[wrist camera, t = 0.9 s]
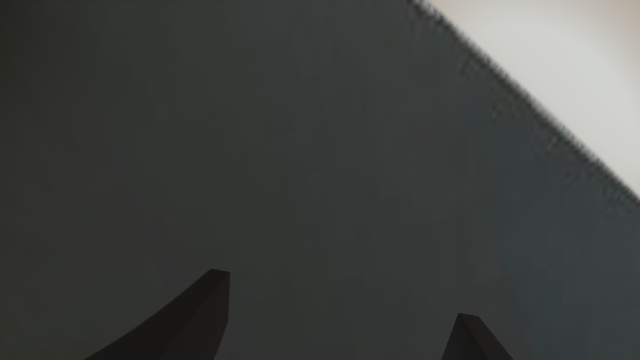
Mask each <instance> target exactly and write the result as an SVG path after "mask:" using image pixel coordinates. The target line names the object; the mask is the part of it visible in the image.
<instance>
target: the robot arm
mask: <svg viewBox="0 0 640 360" xmlns="http://www.w3.org/2000/svg"><path fill="white" fill-rule="evenodd" d="M229 283H230V272H226V271H220V270H215V269H210V270H209V271H207V272H206V273H205V274H204V275H203V276H201V277H200V278H199V279H198V280H197V281H195V282H194V283H193V284H192V285H191V286H190V287H188V288H187V289H186V290H185V291H183V292H182V293H181V294H180V295H179V296H177V297H176V298H175V299H173V300H172V301H171V302H170V303H168V304H167V305H166V306H164V307H163V308H162V309H161V310H159V311H158V312H157V313H155V314H154V315H152V316H151V317H150V318H148V319H147V320H145V321H144V322H143V323H141V324H140V325H138V326H137V327H136V328H134V329H133V330H131V331H130V332H128V333H127V334H125V335H124V336H122V337H121V338H119V339H118V340H116V341H114V342H113V343H111V344H110V345H108V346H106V347H105V348H103V349H101V350H100V351H98V352H96V353H95V354H93V355H91V356H89V357H87V358H86V359H84V360H213V359H214V357H215V355H216V353H217V350H218V348H219V345H220V342H221V340H222V337H223V334H224V331H225V328H226V325H227V323H228V308H229ZM442 360H513V359H512V357H511V356H510V355H509V354H508V352H507V351H506V350H505V349H504V347H503V346H502V345H501V344H500V342H499V341H498V340H497V339H496V337H495V336H494V335H493V334H492V332H491V331H490V330H489V329H488V327H487V326H486V325H485V324H484V322H483V321H482V320H481V319H480V318H479V317H478V316H473V315H467V314H462V313H458V316H457V319H456V321H455V324H454V327H453V330H452V332H451V335H450V338H449V340H448V343H447V346H446V349H445V351H444V354H443V357H442Z"/></svg>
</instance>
